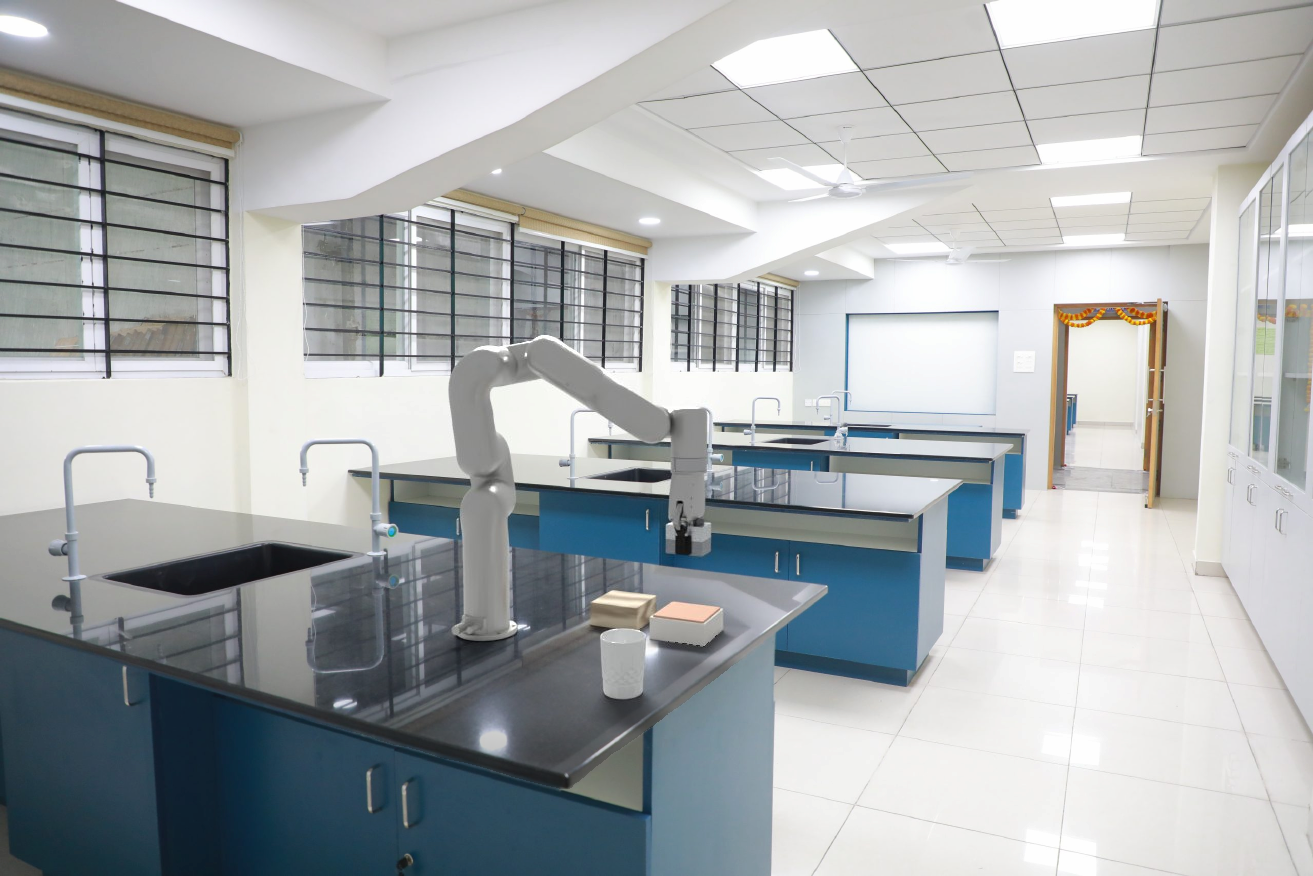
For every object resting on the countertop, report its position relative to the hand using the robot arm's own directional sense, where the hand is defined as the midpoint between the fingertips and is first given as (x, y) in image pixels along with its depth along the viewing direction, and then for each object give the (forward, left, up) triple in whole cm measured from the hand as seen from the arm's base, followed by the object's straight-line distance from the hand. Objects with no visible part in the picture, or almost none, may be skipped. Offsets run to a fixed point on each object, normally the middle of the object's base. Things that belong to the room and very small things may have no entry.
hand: (688, 550), depth 174 cm
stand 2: (0, 0, -18) cm, 18 cm away
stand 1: (+3, +16, -18) cm, 24 cm away
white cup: (-34, -1, -18) cm, 39 cm away
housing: (0, 0, 0) cm, 0 cm away
